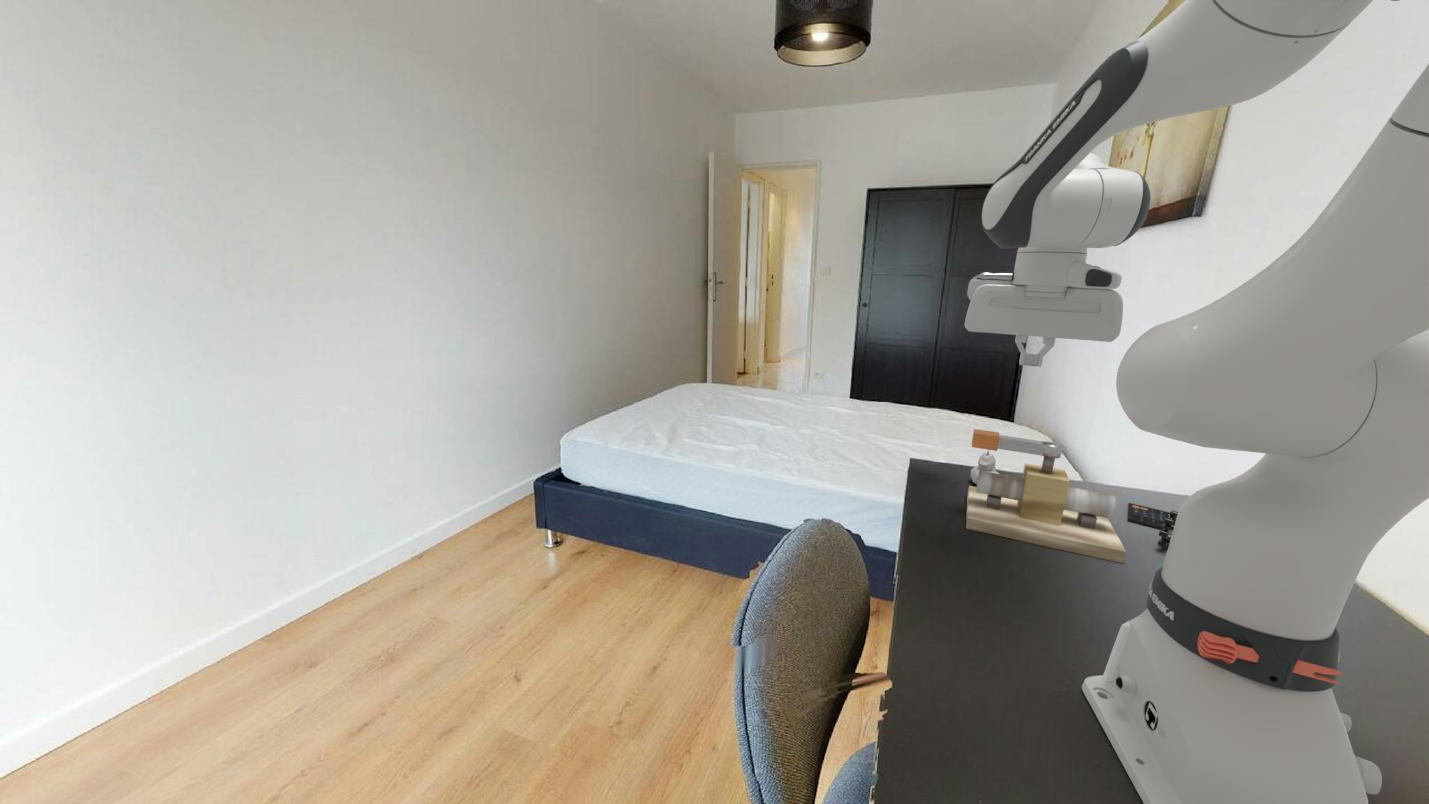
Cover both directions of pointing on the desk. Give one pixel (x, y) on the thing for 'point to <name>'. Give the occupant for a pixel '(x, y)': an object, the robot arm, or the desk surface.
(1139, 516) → the calculator
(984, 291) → the robot arm
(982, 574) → the desk surface
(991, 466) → the white meringue swirl
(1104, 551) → the valve stand
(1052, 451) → the valve lever
